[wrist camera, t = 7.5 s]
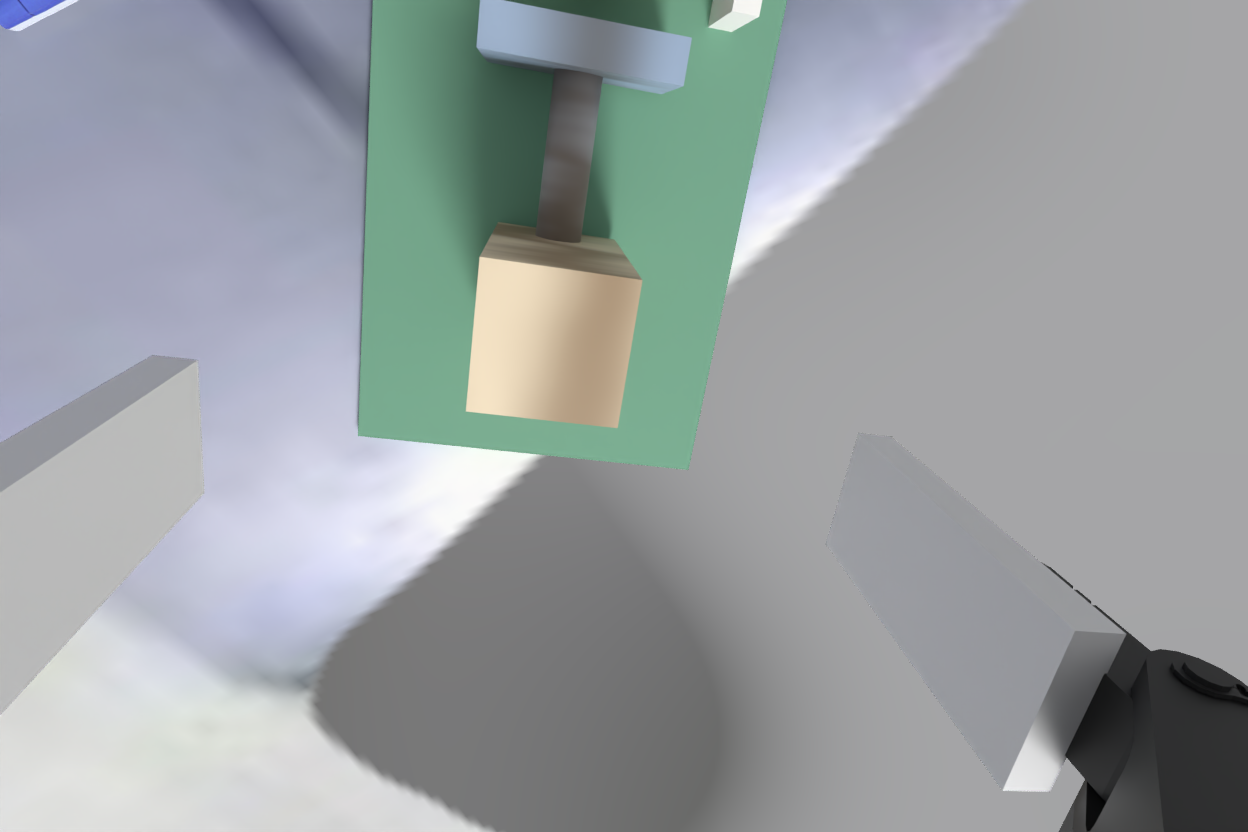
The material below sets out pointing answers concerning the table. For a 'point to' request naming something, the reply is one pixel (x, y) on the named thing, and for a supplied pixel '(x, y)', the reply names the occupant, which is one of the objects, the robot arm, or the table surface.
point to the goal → (733, 13)
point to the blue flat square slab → (28, 11)
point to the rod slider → (562, 228)
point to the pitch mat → (510, 192)
